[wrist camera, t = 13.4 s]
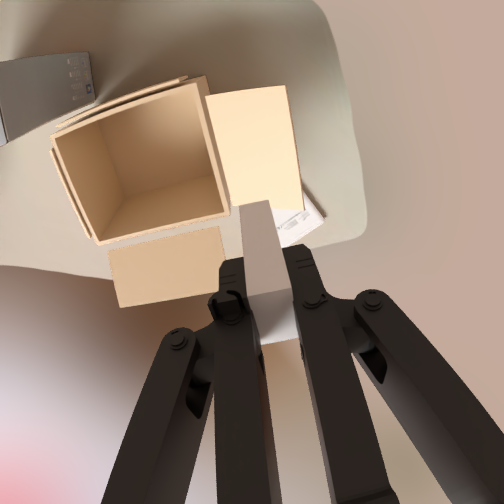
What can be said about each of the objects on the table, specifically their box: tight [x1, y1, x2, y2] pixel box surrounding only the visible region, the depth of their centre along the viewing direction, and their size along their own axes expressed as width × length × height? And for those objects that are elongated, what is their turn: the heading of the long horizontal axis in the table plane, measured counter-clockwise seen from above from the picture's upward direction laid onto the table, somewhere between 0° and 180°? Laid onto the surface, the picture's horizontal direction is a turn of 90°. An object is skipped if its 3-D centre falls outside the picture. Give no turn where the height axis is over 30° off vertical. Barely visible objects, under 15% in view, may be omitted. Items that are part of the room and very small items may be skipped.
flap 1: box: [107, 226, 226, 308], centre depth 33 cm, size 13×7×1 cm
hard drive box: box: [0, 52, 95, 147], centre depth 24 cm, size 16×8×20 cm, turn 93°
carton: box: [49, 75, 230, 246], centre depth 34 cm, size 16×15×12 cm
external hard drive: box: [271, 191, 325, 248], centre depth 46 cm, size 2×8×12 cm
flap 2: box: [205, 85, 305, 210], centre depth 26 cm, size 7×11×1 cm, turn 11°
